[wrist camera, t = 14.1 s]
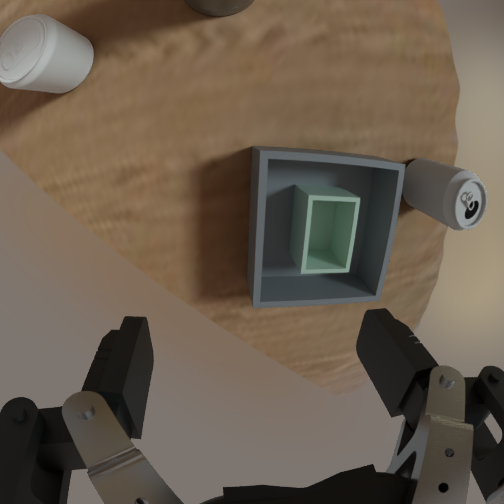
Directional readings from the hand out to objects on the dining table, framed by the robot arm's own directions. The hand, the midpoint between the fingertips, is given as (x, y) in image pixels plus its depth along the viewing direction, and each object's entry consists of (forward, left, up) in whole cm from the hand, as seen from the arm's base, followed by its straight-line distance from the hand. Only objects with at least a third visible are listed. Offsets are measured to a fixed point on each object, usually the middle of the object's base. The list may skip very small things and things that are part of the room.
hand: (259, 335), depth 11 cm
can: (-2, +27, -28) cm, 39 cm away
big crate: (+4, +11, -28) cm, 30 cm away
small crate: (+4, +11, -27) cm, 30 cm away
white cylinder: (-17, -21, -28) cm, 39 cm away
